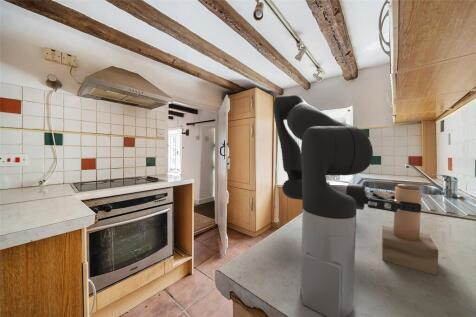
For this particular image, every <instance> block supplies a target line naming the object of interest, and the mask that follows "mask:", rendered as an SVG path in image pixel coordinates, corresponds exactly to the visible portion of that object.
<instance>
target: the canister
mask: <svg viewBox="0 0 476 317" xmlns="http://www.w3.org/2000/svg"><path fill="white" fill-rule="evenodd" d="M394 193H395V200H399V201H405V202H413V203H419V204H420V205H421V206H422V194H423V190H422V189H421V188H420V185H418V184H417V185H416V184H410V183H397V184H396V186H394ZM421 213H422V211H421V212H420V213H416V212H410V211H403V210H400V211H397V212H393V228H394V229H393V234H394V235H395V236H397V237H400V238H403V239H406V240H412V241H418V240H419V239H420V233H421V215H422V214H421Z"/></svg>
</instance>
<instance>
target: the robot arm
mask: <svg viewBox="0 0 476 317" xmlns="http://www.w3.org/2000/svg"><path fill="white" fill-rule="evenodd" d="M273 100H274V101H273V106H272V109H273V116H274V117H273V118H274V122H275V126H276V130H277V135H278V139H279V144H280V150H281V160H282V168H283V171H284V172H285V173H286V175H287V180H285V181H284V183H283V184H282V192H283V194H284V195H285V196H286V197H288V198H289V199H292V200H300V201H302V217H301V218H302V223H301V254H300V255H301V258H300V260H301V262H300V263H301V264H300V265H301V267H300V272H301V273H300V294H301V297H302V301H301V302H302V305H304V306H306V307H308V308H309V309H312V310H313V311H315V312H317V313H319V314H321V315H323V316H325V317H348V316H349V315H351V314H352V313H353V310H354V298H355V297H354V294H355V263H356V262H355V261H356V260H355V257H356V256H355V255H356V235H357V234H356V232H357V231H356V230H357V210H360V211H361V210H364V209H365V205H367V208H369V209H374V210H380V211H387V212H393V213H394V212H397V211H400V210H403V211H410V212H416V213H420V212H421V213H422V204H421V205H420V204H419V203H413V202H405V201H399V200H395V192H393V191H383V190H382V191H381V190H373V189H372V190H370V189H369V192H367V191H366V185H365V184H362V183H360V184H359V183H351V182H350V183H341V182H338V181H331V182H330V181H327V176H354V175H358V174H360V173H362V172H364V171H365V170H367V169H368V168H369V167H370V165H371V163H372V161H373V157H374V156H373V155H374V152H373V151H374V149H373V144H372V142H371V140H370V139H369V136H368V135H367V134H366V133H365V132H364V131H363V130H362V129H361V128H358V127H356V126H354V125H351V124H348V123H344V122H341V121H339V120H336V119H334V118H332V117H331V116H329V115H327V114H326V113H324V112H322V111H321V110H319V109H318V108H316V107H315V106H312V105H310V104H309V103H308V102H306V101H305V99H303V98H302V96H300V95H297V94H291V95H281V96H276V97H275V98H274V99H273ZM285 121H286V124H287V126H286V124H285ZM287 127H288V129H289V130H288V129H287ZM289 131H291V133H292V134H291V133H290V132H289ZM292 135H294V137H296V139H299V140H301V147H300V146H299V143H298V142H297V141H296V139H295V138H294V137H293V136H292Z"/></svg>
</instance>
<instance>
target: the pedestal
mask: <svg viewBox="0 0 476 317" xmlns="http://www.w3.org/2000/svg"><path fill="white" fill-rule="evenodd" d="M393 229H394V227H392V226H387V225H382V234H381V235H382V236H381V257H382V258H381V259H382V261H385V262H389V263H392V264H396V265H399V266H402V267H406V268H410V269H413V270H416V271H420V272H424V273H427V274H429V275H433V276H438V268H439V267H438V265H439V264H438V263H439V249H438V247H437V246H436V244H435V242H434V240H433V239H432V237H431V236H430V234H427V233H421V232H420V239H419V240H418V241H412V240H406V239H403V238H400V237H397V236H395V235H394V234H393Z"/></svg>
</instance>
